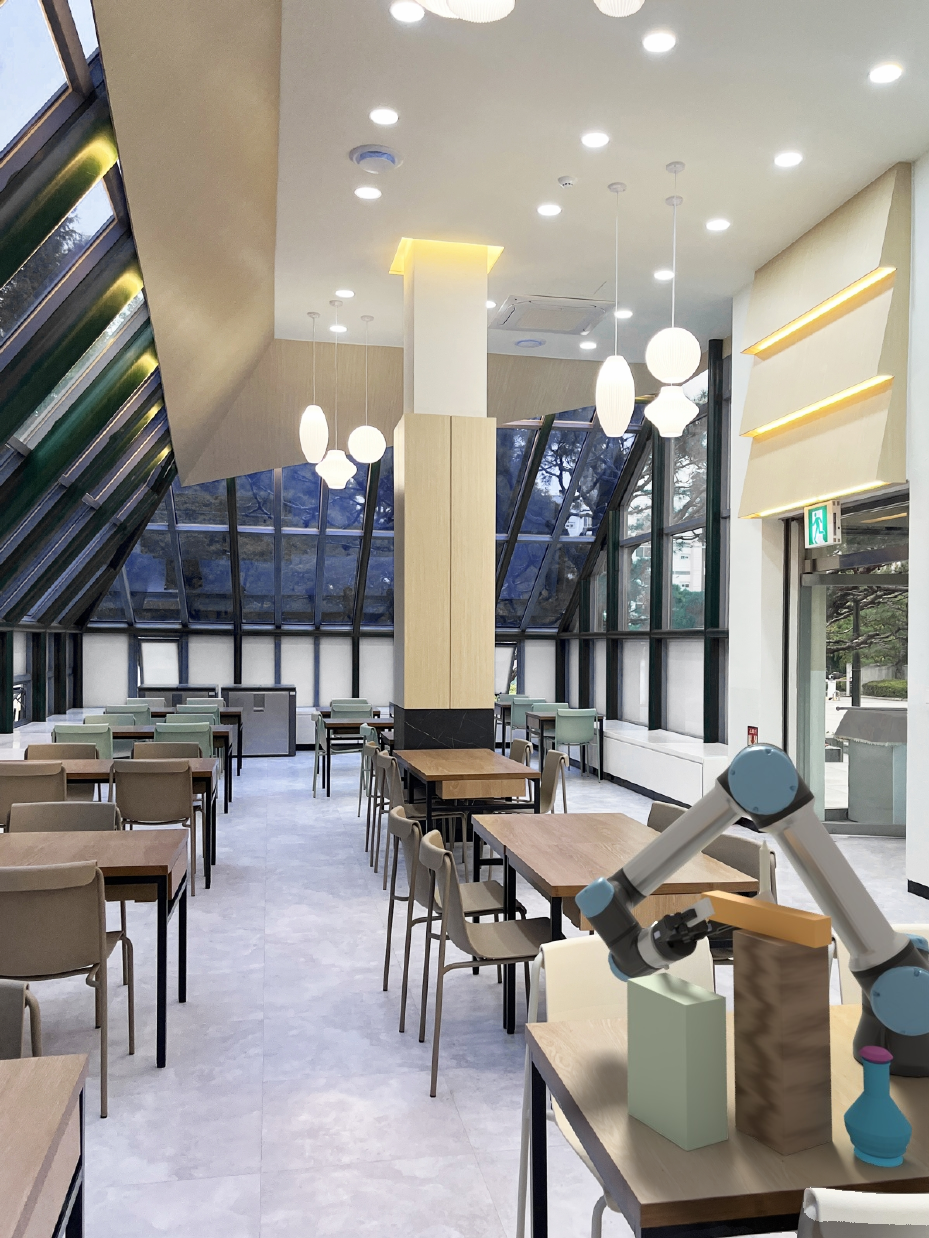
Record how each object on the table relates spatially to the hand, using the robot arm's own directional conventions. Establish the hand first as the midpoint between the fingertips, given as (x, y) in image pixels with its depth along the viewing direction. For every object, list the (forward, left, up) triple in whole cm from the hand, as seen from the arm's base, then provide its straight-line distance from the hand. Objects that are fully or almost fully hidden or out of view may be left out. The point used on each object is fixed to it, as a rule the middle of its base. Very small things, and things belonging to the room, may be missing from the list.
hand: (741, 901), depth 153 cm
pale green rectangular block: (+12, +5, -34) cm, 36 cm away
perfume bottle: (-16, +13, -34) cm, 40 cm away
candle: (-16, -43, -34) cm, 57 cm away
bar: (-2, +4, -4) cm, 6 cm away
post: (-4, +7, -34) cm, 34 cm away
